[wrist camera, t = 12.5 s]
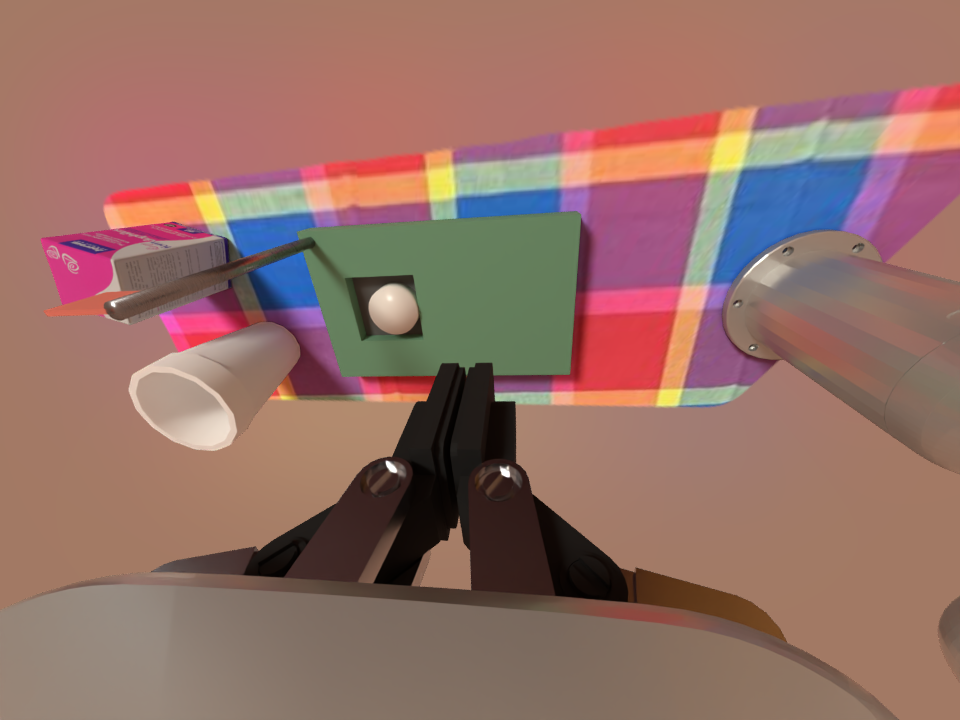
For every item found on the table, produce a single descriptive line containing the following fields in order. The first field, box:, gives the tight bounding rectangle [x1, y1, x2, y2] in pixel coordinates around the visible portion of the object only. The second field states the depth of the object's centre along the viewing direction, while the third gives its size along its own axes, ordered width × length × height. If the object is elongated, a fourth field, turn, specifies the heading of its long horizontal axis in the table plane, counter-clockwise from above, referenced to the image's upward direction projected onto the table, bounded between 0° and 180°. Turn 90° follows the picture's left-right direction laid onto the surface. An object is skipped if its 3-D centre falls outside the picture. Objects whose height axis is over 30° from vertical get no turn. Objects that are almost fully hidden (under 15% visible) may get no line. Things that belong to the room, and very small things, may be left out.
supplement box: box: [41, 222, 232, 325], centre depth 31 cm, size 6×6×12 cm
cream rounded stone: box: [369, 282, 420, 334], centre depth 35 cm, size 5×5×2 cm
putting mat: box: [44, 211, 581, 377], centre depth 28 cm, size 29×16×20 cm, turn 94°
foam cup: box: [129, 322, 300, 451], centre depth 36 cm, size 10×9×13 cm
